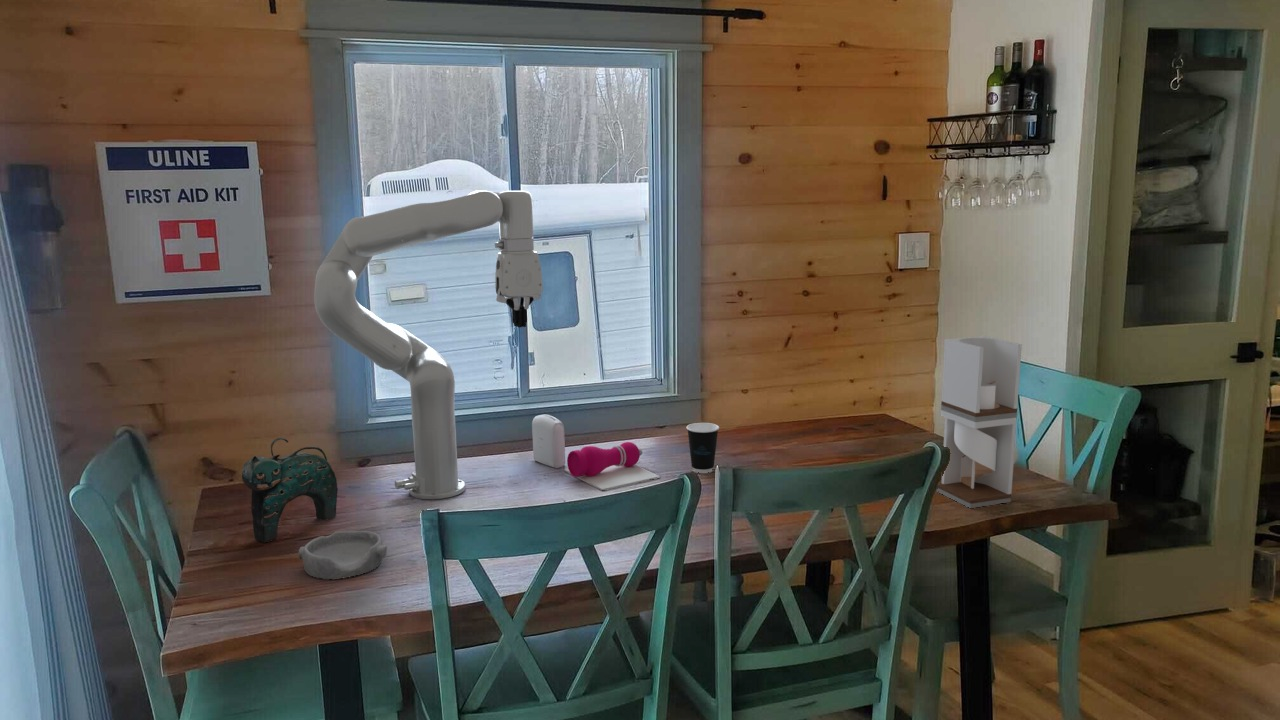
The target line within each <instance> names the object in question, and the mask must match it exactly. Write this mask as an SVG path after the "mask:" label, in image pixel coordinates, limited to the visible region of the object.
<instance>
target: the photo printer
mask: <svg viewBox="0 0 1280 720" xmlns="http://www.w3.org/2000/svg"><path fill="white" fill-rule="evenodd" d="M531 427H532V428H531V432H532V433H531V434H532V453H533V460H534V461H536V462H538V463H540V464H543V465H545V466H548V467H550V468H555V469H556V468H563V467H564V466H565V465H566V447H565V446H566V445H565V426H564V424H563V422H562V421H561V420H560V419H558V418H556V417H554V416H552V415H551V414H539V415H535V417H533V420H532V421H531Z"/></svg>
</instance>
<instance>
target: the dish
mask: <svg viewBox="0 0 1280 720" xmlns="http://www.w3.org/2000/svg"><path fill="white" fill-rule="evenodd" d="M387 550H388V546H387V545H383V541H382V538H381V536H380V535H379V534H378V533H376V532H372V531H369V530H339V531H335V532H333V533H331V534H330V535H327V536H324V535H321V536H318V537H315V538H313V539H312V540H310V541H309V542H307V543H306V544H305V545H304V546H300V548H299V549H298V558H299V559H300V560H302V564H303V568H304V571H305V573H306V574H308V575H309V576H311V577H312V576H313V577H312V578H315V577H316V579H319V578H323V579H322V580H329V579H332V580H335V579H334V578H343V577H349V576H354V577H356V576H355V575H358V576H360V575H359V574H362V575H364V574H363V573H365V574H367V573H369V571H370V572H372V571H374V570H376V569H377V568H378V567H379V566H380V565H381V564H382V561H383V559H384V558H385V557H386V556H387ZM376 567H377V568H376ZM373 569H374V570H373ZM371 570H372V571H371ZM366 572H367V573H366ZM349 578H350V577H349ZM343 579H344V578H343Z"/></svg>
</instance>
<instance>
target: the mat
mask: <svg viewBox="0 0 1280 720" xmlns="http://www.w3.org/2000/svg"><path fill="white" fill-rule="evenodd" d="M564 472H565V473H567V474H569V475H571V473H570V471H569V469H568V468H564ZM657 477H660V478H661V476H660V475H658V474H656V473H654V472H652V471H649V470H647V469H645V468H642V467H641V466H638V465H637V464H635V465H633V466H624V465H623V466H615V465H613V466H610V467H607V468H606V469H604V470H603V471H602V472H600V473H599V474H597V475H595V476H590V477H589V476H586V475H583V476H580V477H576V478H577V479H579V480H581V481H582V482H584V483H586V484H588V485H590V486H592V487H593V488H595V489H597V488H598V490H599V489H600V491H601V490H605V491H608V490H607V489H609V490H614V489H617V488H622V487H623V488H624V487H627V486H631V485H637V484H640V483H639V482H641V483H644V482H643V481H645V482H647V481H646V480H649V479H654V480H656V479H655V478H657Z"/></svg>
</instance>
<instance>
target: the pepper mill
mask: <svg viewBox="0 0 1280 720" xmlns="http://www.w3.org/2000/svg"><path fill="white" fill-rule="evenodd" d="M642 455H643V450H642V449H641V448H639V447H638V446H637V445H636V444H635V443H634V442H631V441H626V442H622V443H621V444H620V445H616V446H613V447H612V448H600V447H597V446H593V445H589V446H587V445H586V446H583V447H582V448H581V449H576V450H571V451H570V452H568V455H567V459H566V464H567V469H569V471H570V473H571V474H570V475H571V476H573V477H574V478H577V477H580V476H583V475H586V476H589V477H590V476H595V475H597V474H599V473H600V472H602V471H603V470H604V469H606V468H607V467H610V466H613V465H615V466H623V465H624V466H633V465H637V463H638V462H639V459H640V456H642Z"/></svg>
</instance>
